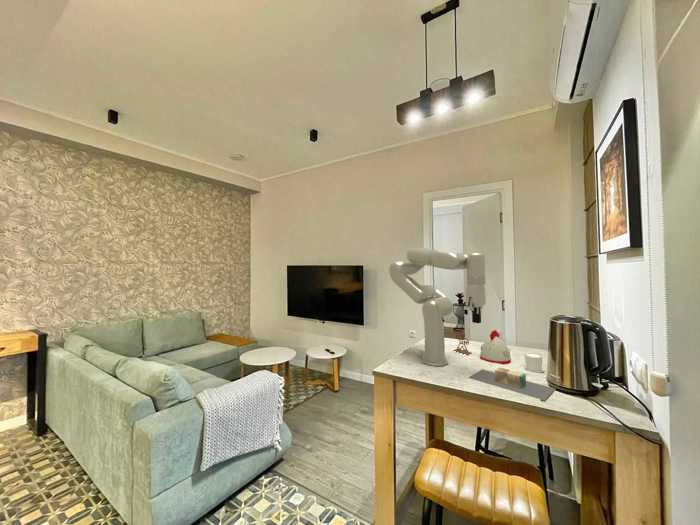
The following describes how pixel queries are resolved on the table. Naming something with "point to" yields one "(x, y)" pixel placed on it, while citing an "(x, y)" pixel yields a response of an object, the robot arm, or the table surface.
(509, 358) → the white red winter hat
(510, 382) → the spice jar
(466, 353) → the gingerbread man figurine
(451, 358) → the table surface
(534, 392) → the mat
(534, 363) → the white round tub
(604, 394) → the table surface
